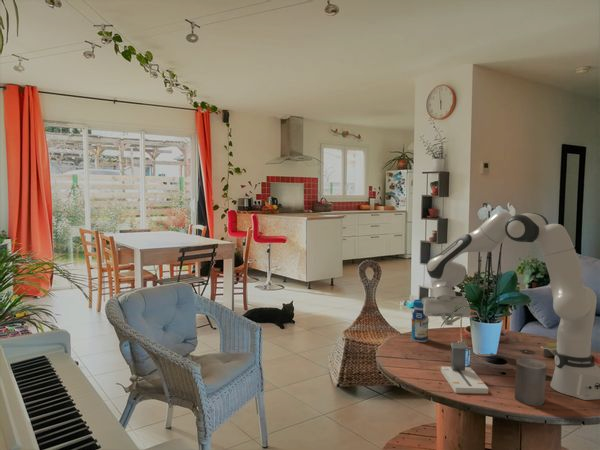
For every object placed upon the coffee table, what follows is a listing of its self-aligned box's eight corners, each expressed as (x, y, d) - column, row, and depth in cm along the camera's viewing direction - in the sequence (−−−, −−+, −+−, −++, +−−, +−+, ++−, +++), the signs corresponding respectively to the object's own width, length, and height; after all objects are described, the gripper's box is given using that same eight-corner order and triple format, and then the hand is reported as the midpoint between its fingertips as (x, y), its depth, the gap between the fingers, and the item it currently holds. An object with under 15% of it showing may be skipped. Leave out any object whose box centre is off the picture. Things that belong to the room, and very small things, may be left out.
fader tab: (464, 368, 190) (465, 342, 189) (465, 370, 188) (466, 344, 187) (450, 368, 190) (451, 342, 190) (451, 369, 188) (452, 343, 188)
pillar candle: (509, 394, 171) (510, 354, 170) (534, 393, 172) (536, 354, 171) (523, 406, 162) (525, 365, 160) (550, 405, 162) (552, 364, 161)
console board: (470, 371, 193) (470, 366, 193) (488, 393, 172) (488, 388, 172) (440, 371, 193) (440, 366, 193) (455, 392, 172) (455, 387, 172)
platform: (579, 360, 207) (580, 346, 207) (545, 364, 203) (546, 349, 203) (558, 351, 219) (559, 338, 218) (526, 354, 215) (526, 340, 214)
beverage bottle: (417, 336, 240) (418, 298, 239) (431, 340, 234) (432, 301, 233) (407, 339, 235) (408, 300, 234) (421, 343, 229) (422, 303, 227)
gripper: (422, 293, 210) (426, 320, 201) (467, 293, 209) (474, 321, 200) (419, 300, 214) (423, 327, 205) (464, 301, 214) (470, 328, 205)
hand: (449, 324), depth 203 cm, fingers closed
